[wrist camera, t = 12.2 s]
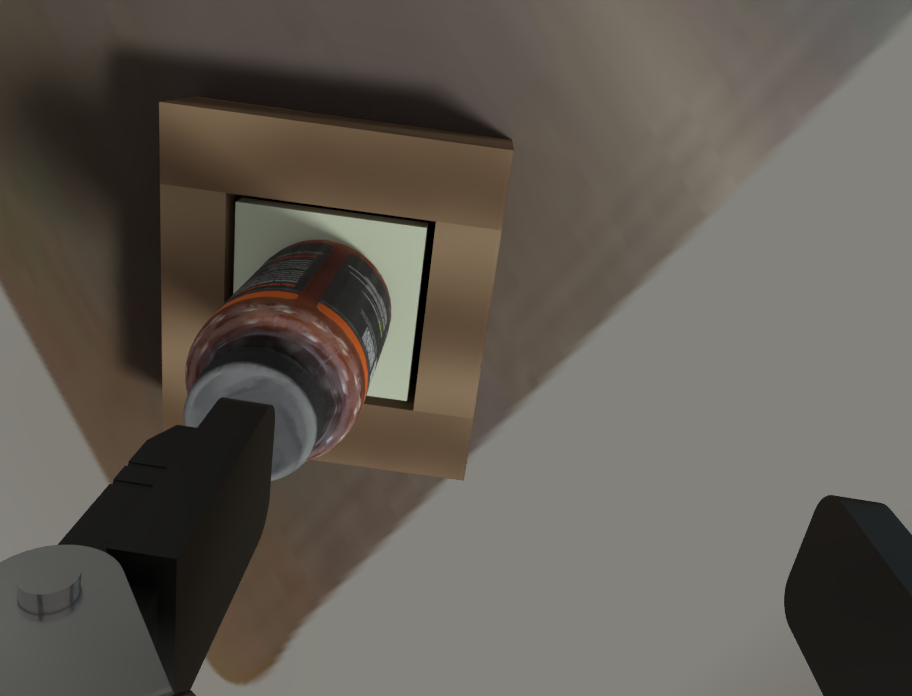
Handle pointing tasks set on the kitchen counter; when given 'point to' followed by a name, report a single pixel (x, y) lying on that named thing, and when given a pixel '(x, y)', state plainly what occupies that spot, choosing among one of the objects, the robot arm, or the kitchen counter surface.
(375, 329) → the supplement bottle
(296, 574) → the kitchen counter surface
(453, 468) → the wooden tray
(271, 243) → the plate
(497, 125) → the kitchen counter surface
